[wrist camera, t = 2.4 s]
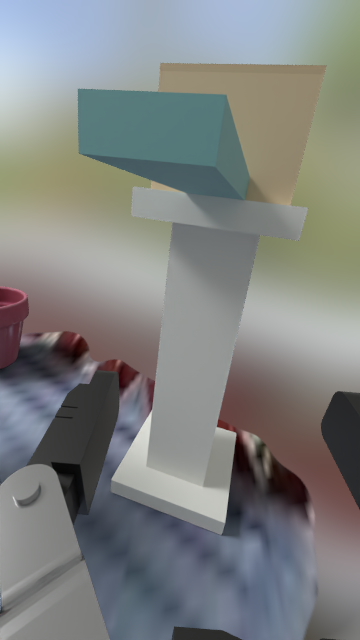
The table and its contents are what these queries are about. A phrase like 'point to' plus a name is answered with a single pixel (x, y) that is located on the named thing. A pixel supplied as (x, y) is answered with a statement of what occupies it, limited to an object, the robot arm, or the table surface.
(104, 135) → the carton
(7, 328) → the plant pot
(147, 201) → the stand
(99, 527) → the table surface
